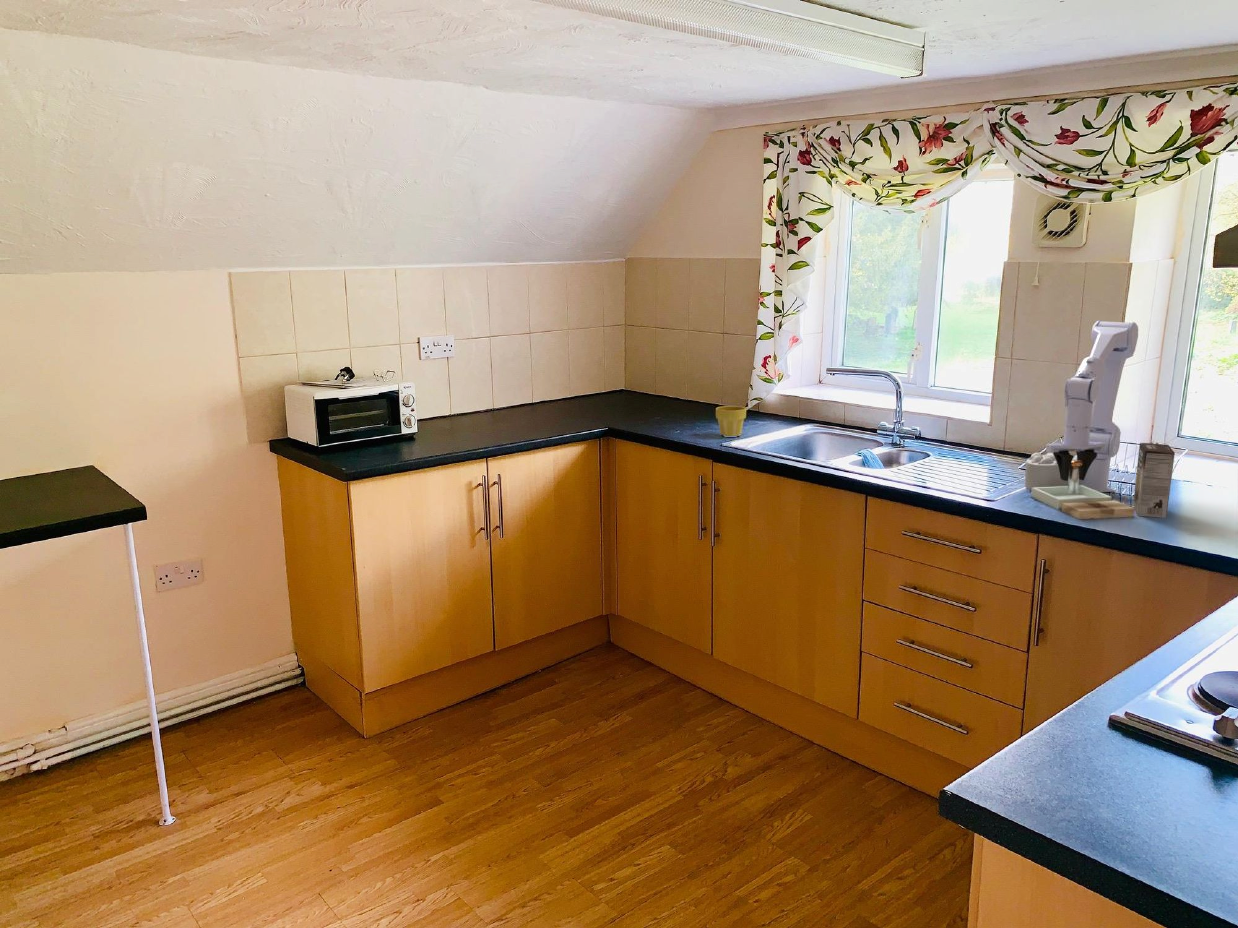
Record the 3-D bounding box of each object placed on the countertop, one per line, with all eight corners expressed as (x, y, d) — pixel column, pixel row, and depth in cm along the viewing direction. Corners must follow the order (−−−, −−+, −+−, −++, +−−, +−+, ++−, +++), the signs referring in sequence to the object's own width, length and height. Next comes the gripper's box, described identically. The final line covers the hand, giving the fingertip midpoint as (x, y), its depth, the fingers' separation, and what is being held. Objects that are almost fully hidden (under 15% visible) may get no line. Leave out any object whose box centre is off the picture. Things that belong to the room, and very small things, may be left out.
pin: (1071, 495, 235) (1071, 463, 233) (1061, 491, 238) (1061, 460, 237) (1085, 493, 235) (1086, 462, 233) (1075, 490, 239) (1076, 459, 237)
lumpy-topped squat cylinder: (1080, 486, 251) (1081, 454, 249) (1049, 494, 245) (1051, 462, 243) (1044, 479, 260) (1046, 448, 258) (1014, 487, 253) (1015, 455, 251)
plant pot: (710, 434, 327) (710, 406, 325) (738, 432, 330) (738, 404, 328) (722, 440, 318) (723, 411, 315) (750, 437, 321) (751, 409, 318)
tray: (1030, 497, 242) (1031, 487, 242) (1081, 494, 244) (1082, 485, 244) (1058, 509, 231) (1059, 499, 230) (1110, 506, 233) (1112, 497, 232)
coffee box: (1131, 506, 233) (1139, 442, 230) (1161, 508, 231) (1169, 444, 227) (1136, 515, 225) (1144, 449, 221) (1167, 518, 223) (1175, 451, 219)
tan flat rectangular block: (1061, 511, 229) (1062, 503, 229) (1114, 508, 231) (1115, 500, 231) (1079, 519, 223) (1080, 511, 222) (1133, 516, 225) (1134, 508, 224)
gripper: (1059, 430, 228) (1054, 484, 231) (1115, 428, 230) (1109, 482, 233) (1043, 424, 235) (1038, 477, 238) (1097, 422, 237) (1091, 475, 240)
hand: (1072, 479), depth 236 cm, fingers closed on pin, 4 cm apart
